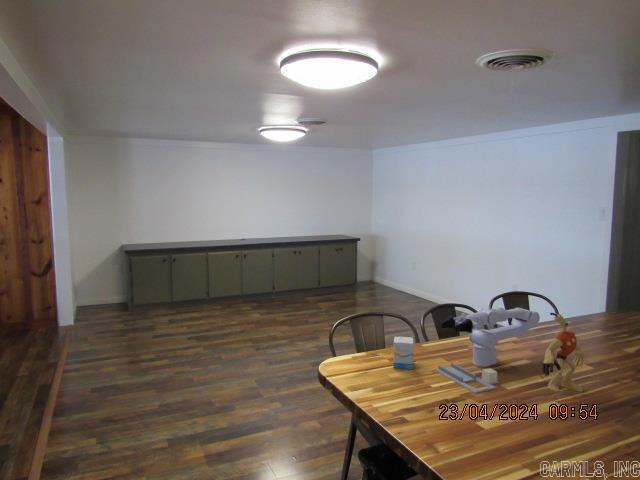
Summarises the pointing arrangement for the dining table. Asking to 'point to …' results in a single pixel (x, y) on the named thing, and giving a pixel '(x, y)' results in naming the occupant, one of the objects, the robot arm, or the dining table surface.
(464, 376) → the rail board
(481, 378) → the pad
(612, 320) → the dining table surface
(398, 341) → the ink box
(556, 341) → the toy
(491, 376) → the block
